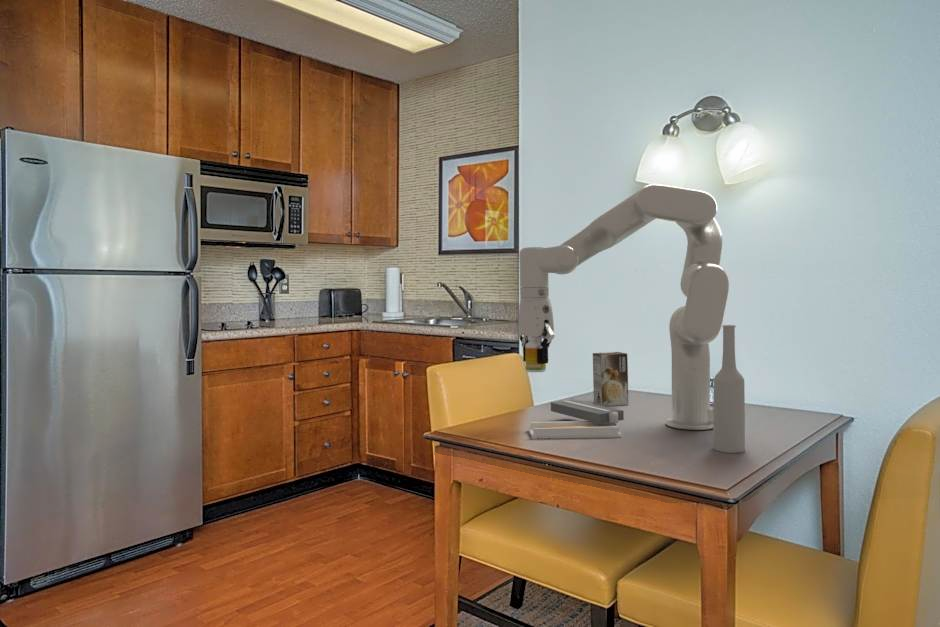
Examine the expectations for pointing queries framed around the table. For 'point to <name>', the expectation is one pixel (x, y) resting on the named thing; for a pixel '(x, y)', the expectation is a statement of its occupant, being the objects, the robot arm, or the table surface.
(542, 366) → the supplement bottle
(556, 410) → the block
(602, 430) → the duct base
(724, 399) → the bottle
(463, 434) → the table surface
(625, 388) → the coffee box
